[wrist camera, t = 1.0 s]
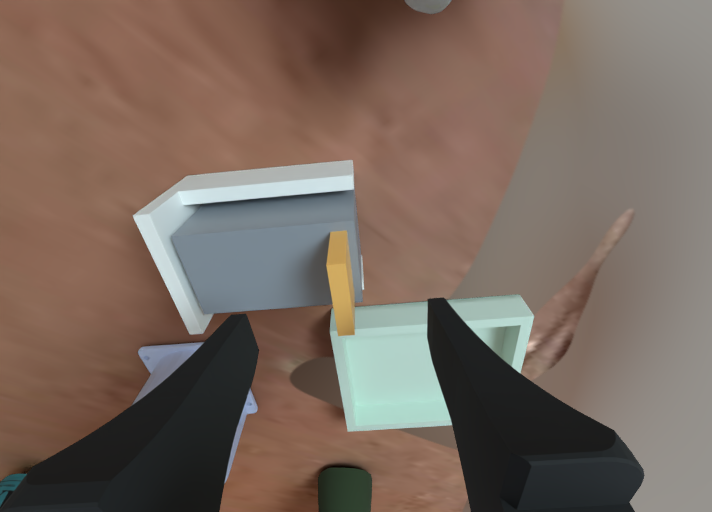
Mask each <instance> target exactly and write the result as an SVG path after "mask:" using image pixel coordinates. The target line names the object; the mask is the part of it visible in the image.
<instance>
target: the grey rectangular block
mask: <svg viewBox="0 0 712 512" xmlns="http://www.w3.org/2000/svg"><path fill="white" fill-rule="evenodd" d="M171 238H172V241H173V243H174V245H175V247H176V250H177V252H178V254H179V257H180V259H181V261H182V264H183V266H184V268H185V271H186V273H187V275H188V278H189V280H190V282H191V284H192V287H193V289H194V291H195V294H196V296H197V298H198V301H199V303H200V305H201V308H202V310H203V312H204V314H215V313H227V312H240V311H253V310H266V309H279V308H292V307H305V306H317V305H330V304H333V309H334V315H335V321H336V327H337V333H338V336H347V335H355V303H356V302H363V298H362V273H361V248H360V238H359V228H358V218H357V208H356V198H355V188H354V190H343V191H332V192H321V193H310V194H300V195H289V196H278V197H267V198H256V199H245V200H234V201H224V202H213V203H204V204H203V205H202V206H201V207H200V208H199V209H198V210H197V211H196V212H195V213H194V214H193V215H192V216H191V217H190V218H189V219H188V220H187V221H186V222H185V223H184V224H183V225H182V226H181V227H180V228H179V229H178V230H177V231H176V232H175V233H174V234H173V235H172V236H171Z"/></svg>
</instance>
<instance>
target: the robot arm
mask: <svg viewBox="0 0 712 512" xmlns="http://www.w3.org/2000/svg"><path fill="white" fill-rule="evenodd" d="M427 340H428V345H429V350H430V355H431V359H432V363H433V366H434V369H435V372H436V376H437V379H438V382H439V385H440V388H441V391H442V394H443V397H444V400H445V403H446V406H447V409H448V412H449V415H450V419H451V422H452V425H453V430H454V434H455V439H456V443H457V448H458V452H459V457H460V461H461V466H462V470H463V475H464V480H465V484H466V489H467V494H468V499H469V504H470V508H471V512H635V511H634V510H633V508H632V506H631V505H630V503H629V502H630V500H631V499H632V497H633V496H634V494H635V493H636V491H637V490H638V489H639V487H640V486H641V484H642V481H643V479H644V471H643V468H642V467H641V465H640V464H639V462H638V461H637V460H636V458H635V457H634V455H633V454H632V452H631V451H630V450H629V448H628V447H627V446H626V444H625V443H624V442H623V441H622V440H621V439H620V437H619V436H618V435H617V434H616V432H615V431H614V430H612V429H610V428H609V427H607V426H605V425H603V424H601V423H599V422H597V421H595V420H594V419H592V418H590V417H588V416H586V415H584V414H582V413H580V412H579V411H577V410H575V409H573V408H572V407H570V406H568V405H567V404H565V403H563V402H562V401H560V400H558V399H557V398H555V397H554V396H552V395H551V394H549V393H547V392H546V391H545V390H543V389H541V388H540V387H539V386H537V385H536V384H534V383H533V382H531V381H530V380H528V379H527V378H526V377H524V376H523V375H522V374H520V373H519V372H518V371H516V370H515V369H514V368H513V367H512V366H510V365H509V364H508V363H507V362H505V361H504V360H503V359H502V358H501V357H500V356H498V355H497V354H496V353H495V352H494V351H493V350H492V349H491V348H490V347H489V346H488V345H487V344H485V343H484V342H483V341H482V340H481V339H480V338H479V337H478V336H477V335H476V333H475V332H474V331H473V330H472V329H471V328H470V327H469V326H468V325H467V324H466V323H465V322H464V321H463V319H462V318H461V317H460V316H459V315H458V314H457V313H456V311H455V310H454V309H453V308H452V306H451V305H450V304H449V303H448V301H447V300H446V299H445V298H433V299H428V313H427ZM258 353H259V349H258V346H257V343H256V340H255V337H254V335H253V332H252V329H251V326H250V323H249V320H248V318H247V315H246V314H236V315H231V316H230V317H229V318H227V319H226V320H225V322H224V323H223V324H222V325H221V326H220V327H219V328H218V329H217V330H216V331H215V332H214V333H213V334H212V335H211V336H210V337H209V338H208V339H207V340H206V341H205V342H199V343H186V344H172V345H159V346H146V347H141V348H140V349H139V351H138V354H139V356H140V357H141V359H142V361H143V362H144V364H145V366H146V367H147V369H148V370H149V372H150V374H151V375H150V377H149V378H148V380H147V382H146V383H145V385H144V386H143V388H142V389H141V391H140V393H139V394H138V396H137V397H136V399H135V401H134V402H133V404H132V405H131V407H129V408H128V409H126V410H125V411H124V412H122V413H121V414H119V415H118V416H117V417H115V418H114V419H112V420H111V421H109V422H108V423H106V424H105V425H103V426H102V427H100V428H99V429H97V430H96V431H94V432H92V433H91V434H89V435H88V436H86V437H84V438H83V439H81V440H79V441H78V442H76V443H74V444H73V445H71V446H69V447H67V448H66V449H64V450H62V451H60V452H59V453H57V454H55V455H53V456H52V457H50V458H48V459H46V460H44V461H43V462H41V463H39V464H37V465H35V466H33V467H32V468H31V470H30V471H29V472H28V473H27V475H26V476H25V477H24V479H23V480H22V481H21V482H20V484H19V485H18V486H17V488H16V489H15V490H14V491H13V493H12V494H11V495H10V497H9V498H8V499H7V500H6V502H5V503H4V504H3V506H2V507H1V508H0V512H219V510H220V504H221V498H222V493H223V488H224V484H225V482H226V480H227V478H228V476H229V473H230V470H231V466H232V463H233V460H234V456H235V453H236V449H237V446H238V443H239V439H240V436H241V432H242V429H243V426H244V422H245V419H246V415H247V414H250V413H256V412H257V409H258V406H257V404H256V401H255V399H254V396H253V394H252V391H251V389H250V387H251V384H252V381H253V377H254V374H255V369H256V364H257V359H258Z"/></svg>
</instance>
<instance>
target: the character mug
mask: <svg viewBox="0 0 712 512" xmlns="http://www.w3.org/2000/svg"><path fill="white" fill-rule="evenodd" d="M371 496H372V478H371V474H369V473H368V472H366V471H365V470H360V469H355V468H345V467H342V468H328V469H326V470H324V471H323V472H321V474H320V475H319V477H318V505H319V512H370V511H371Z"/></svg>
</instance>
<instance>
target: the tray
mask: <svg viewBox="0 0 712 512" xmlns="http://www.w3.org/2000/svg"><path fill="white" fill-rule="evenodd" d="M447 301H448V303H449V304H450V305H451V306H452V308H453V309H454V310H455V311H456V313H457V314H458V315H459V316H460V317H461V318H462V319H463V321H464V322H465V323H466V324H467V325H468V326H469V327H470V328H471V329H472V330H473V331H474V332H475V333H476V335H477V336H478V337H479V338H480V339H481V340H482V341H483V342H484V343H485V344H487V345H488V346H489V347H490V348H491V349H492V350H493V351H494V352H495V353H496V354H497V355H498V356H500V357H501V358H502V359H503V360H504V361H505V362H507V363H508V364H509V365H510V366H512V367H513V368H514V369H515V370H516V371H518V372H519V373H520V372H521V368H522V364H523V360H524V356H525V352H526V348H527V344H528V340H529V336H530V332H531V327H532V323H533V319H534V315H533V313H532V312H531V311H530V309H529V308H528V306H527V305H526V303H525V302H524V300H523V299H522V298H521V296H520V295H519V294H517V295H516V294H515V295H504V296H490V297H477V298H464V299H451V300H447ZM427 313H428V301H425V302H412V303H400V304H387V305H374V306H361V307H355V335H347V336H338V333H337V327H336V321H335V315H334V309H332V310H331V322H330V336H331V341H332V347H333V352H334V358H335V362H336V369H337V374H338V380H339V385H340V391H341V396H342V402H343V407H344V413H345V418H346V424H347V429H348V432H349V431H365V430H381V429H397V428H412V427H429V426H445V425H452V422H451V419H450V415H449V412H448V409H447V406H446V403H445V400H444V397H443V394H442V391H441V388H440V385H439V382H438V379H437V376H436V372H435V369H434V366H433V363H432V359H431V355H430V350H429V345H428V340H427Z"/></svg>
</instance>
